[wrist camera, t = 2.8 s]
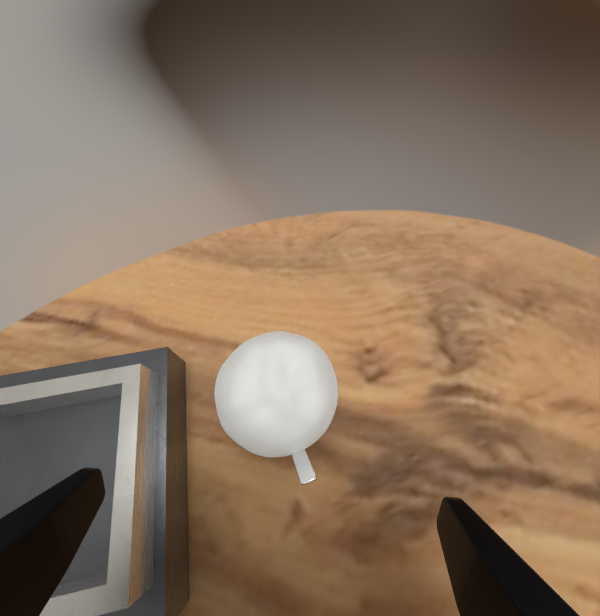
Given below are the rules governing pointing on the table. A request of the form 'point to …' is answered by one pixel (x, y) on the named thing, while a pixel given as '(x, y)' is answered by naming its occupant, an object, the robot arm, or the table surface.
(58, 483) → the robot arm
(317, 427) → the milkshake
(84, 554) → the grey open rectangular box
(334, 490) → the table surface
